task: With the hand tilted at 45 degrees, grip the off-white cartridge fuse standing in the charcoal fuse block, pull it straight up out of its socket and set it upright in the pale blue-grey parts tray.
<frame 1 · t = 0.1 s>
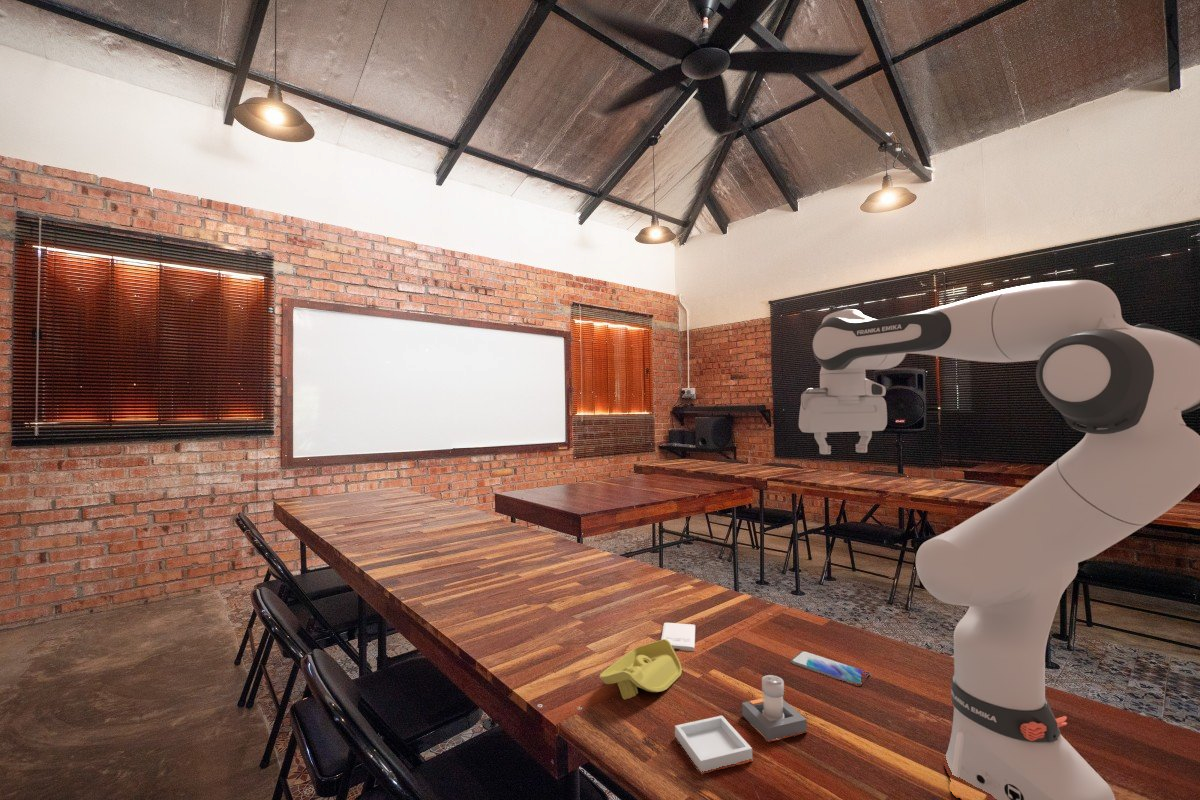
hand: (843, 453, 108), 48 cm above the table, tool pointing down, fingers open, 8 cm apart
smartphone: (829, 671, 113), on the table
fuse block: (773, 724, 93), on the table
external hard drive: (678, 640, 128), on the table
fuse: (773, 702, 93), in the fuse block
parts tray: (712, 749, 87), on the table
plastic component: (638, 684, 108), on the table
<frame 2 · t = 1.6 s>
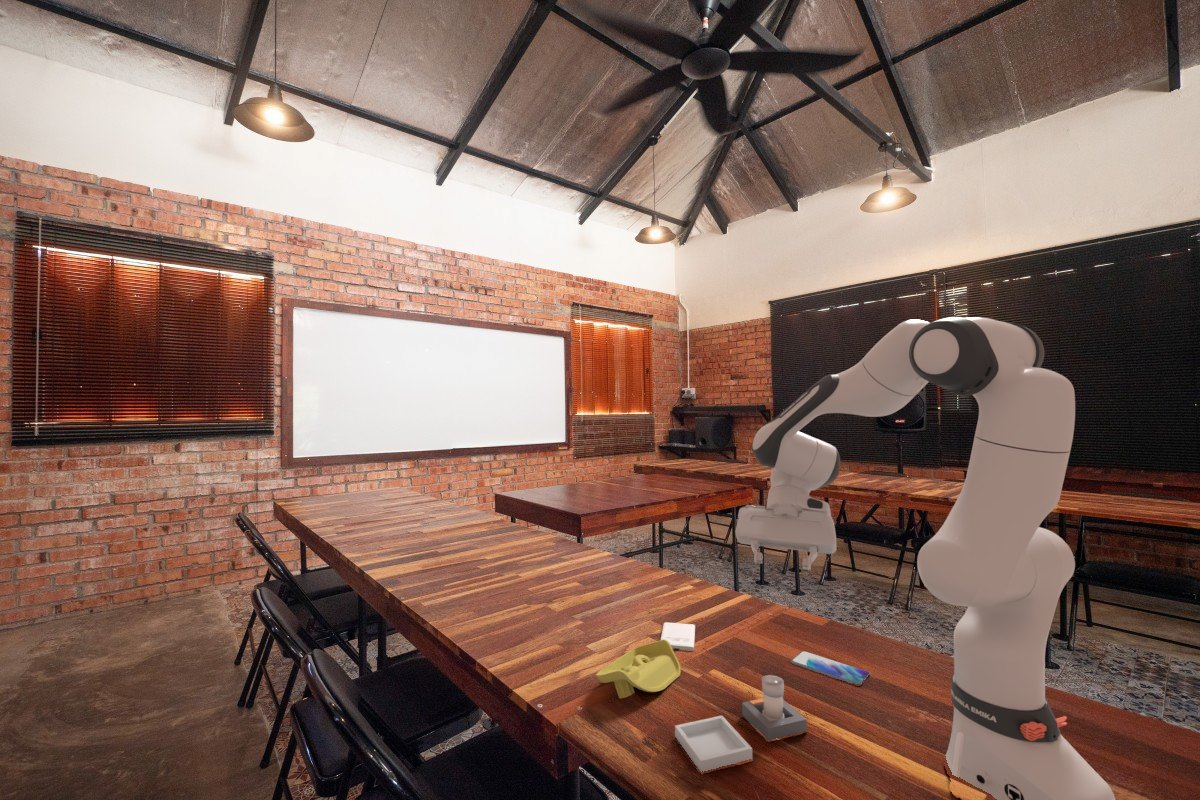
hand: (781, 565, 105), 26 cm above the table, tool tilted 45°, fingers open, 8 cm apart
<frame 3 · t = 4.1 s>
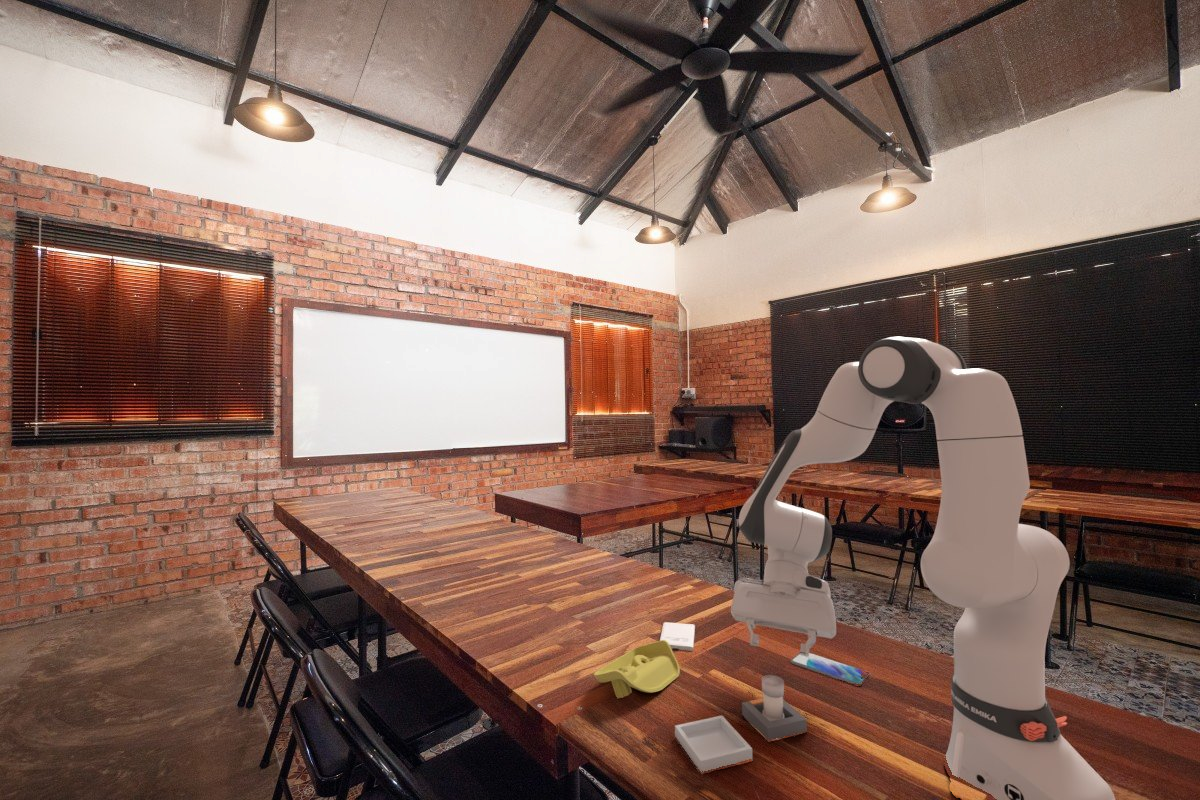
hand: (778, 649, 100), 10 cm above the table, tool tilted 45°, fingers open, 8 cm apart
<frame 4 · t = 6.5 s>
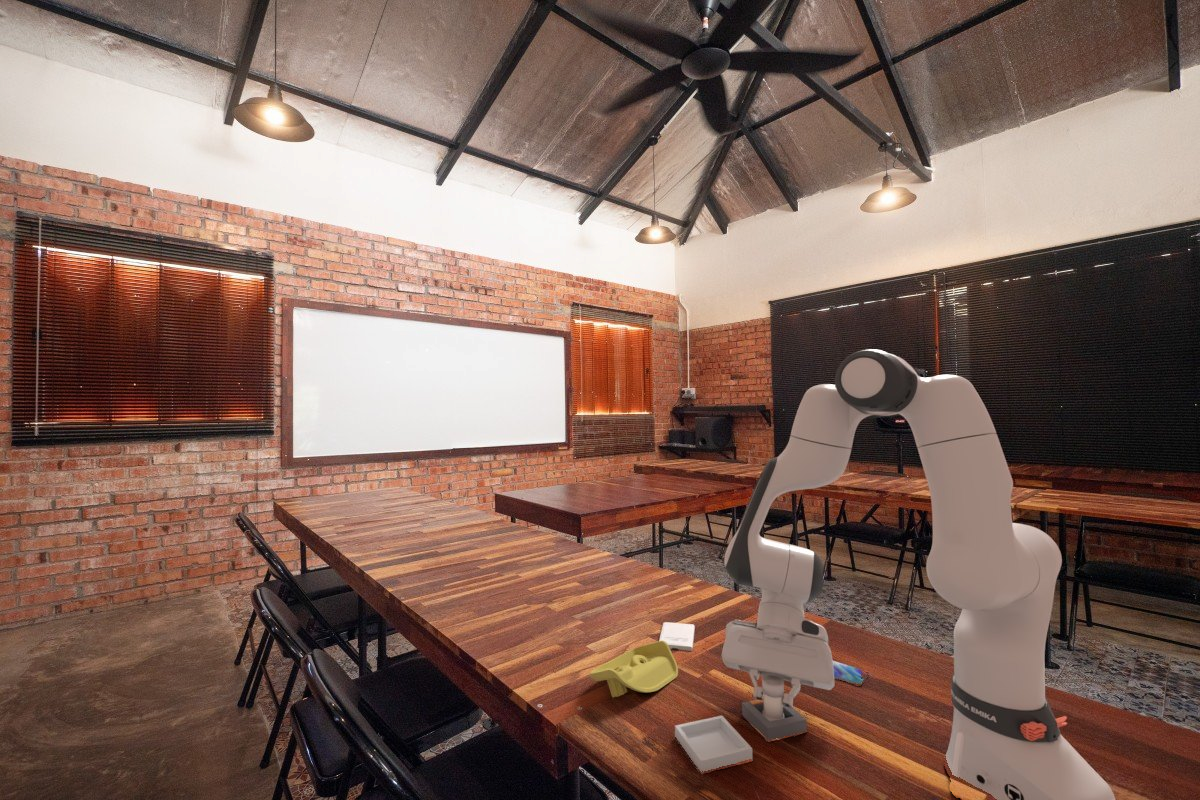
hand: (772, 702, 93), 4 cm above the table, tool tilted 45°, fingers closed on fuse, 4 cm apart
fuse: (773, 702, 93), in the fuse block, touching gripper
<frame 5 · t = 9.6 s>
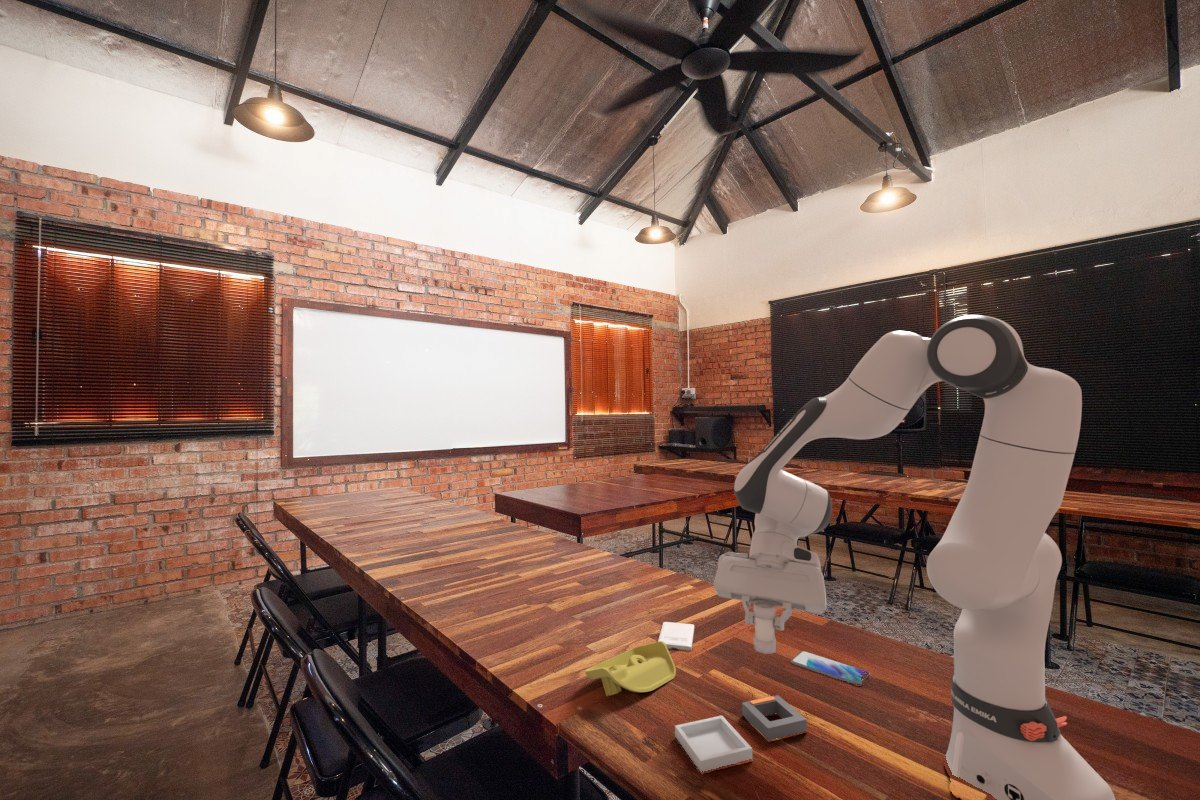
hand: (763, 625, 92), 18 cm above the table, tool tilted 45°, fingers closed on fuse, 4 cm apart
fuse: (764, 626, 93), point 18 cm above the table, touching gripper
when the fingers open (6 cm above the table, at t = 12.9 s): fuse drops 1 cm, resting on parts tray.
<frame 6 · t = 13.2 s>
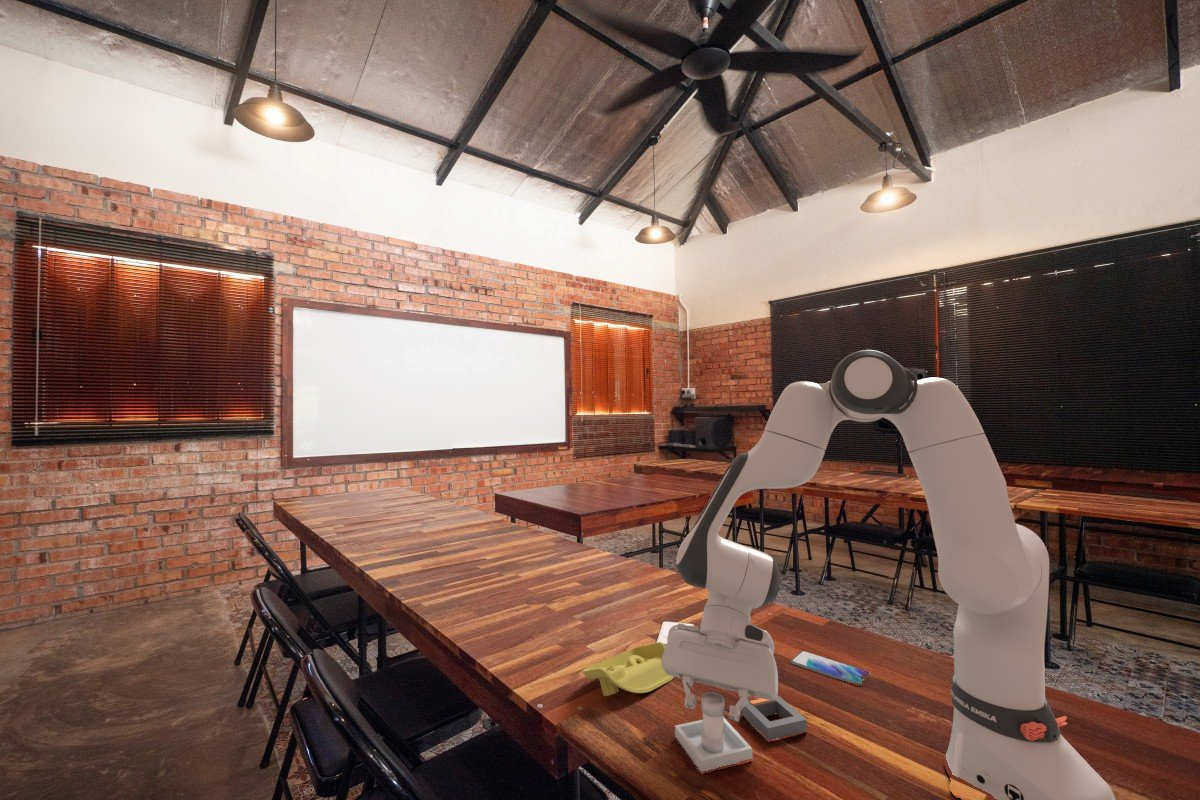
hand: (710, 713, 86), 6 cm above the table, tool tilted 45°, fingers open, 6 cm apart
fuse: (712, 722, 87), in the parts tray, point 5 cm above the table
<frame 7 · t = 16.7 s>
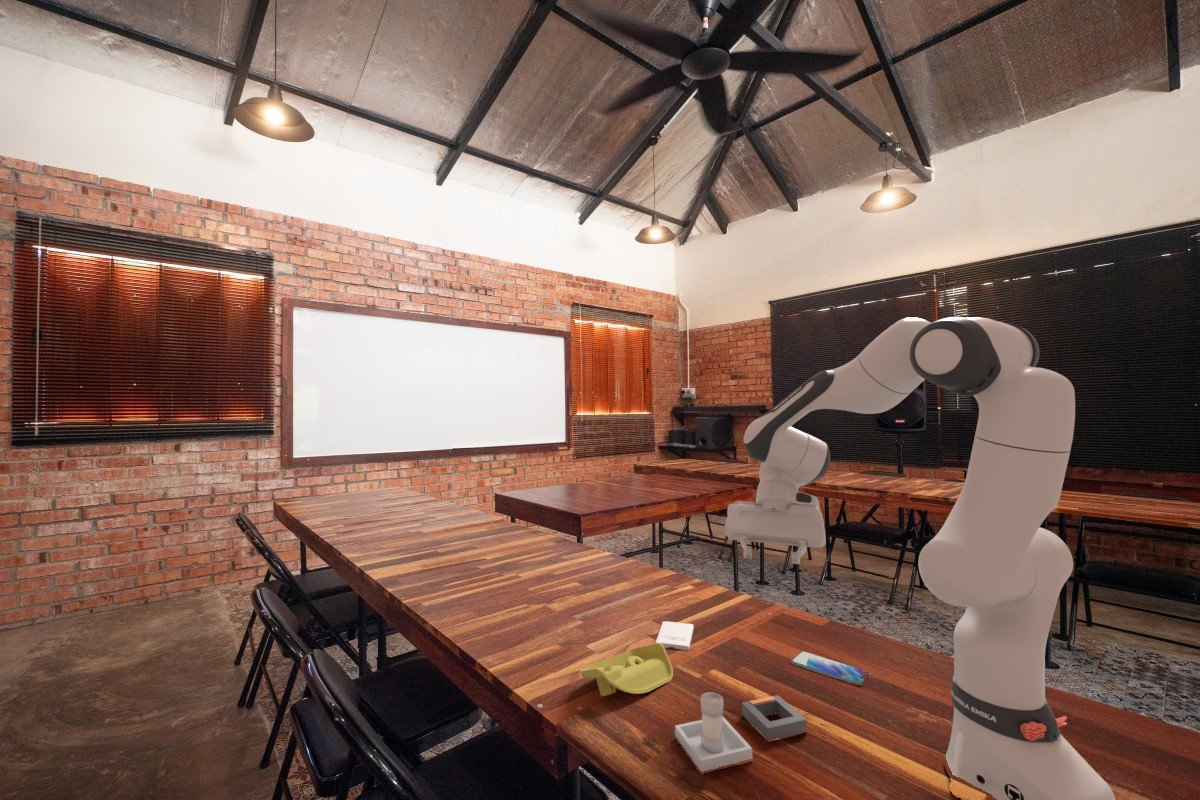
hand: (770, 559, 104), 27 cm above the table, tool tilted 45°, fingers open, 8 cm apart
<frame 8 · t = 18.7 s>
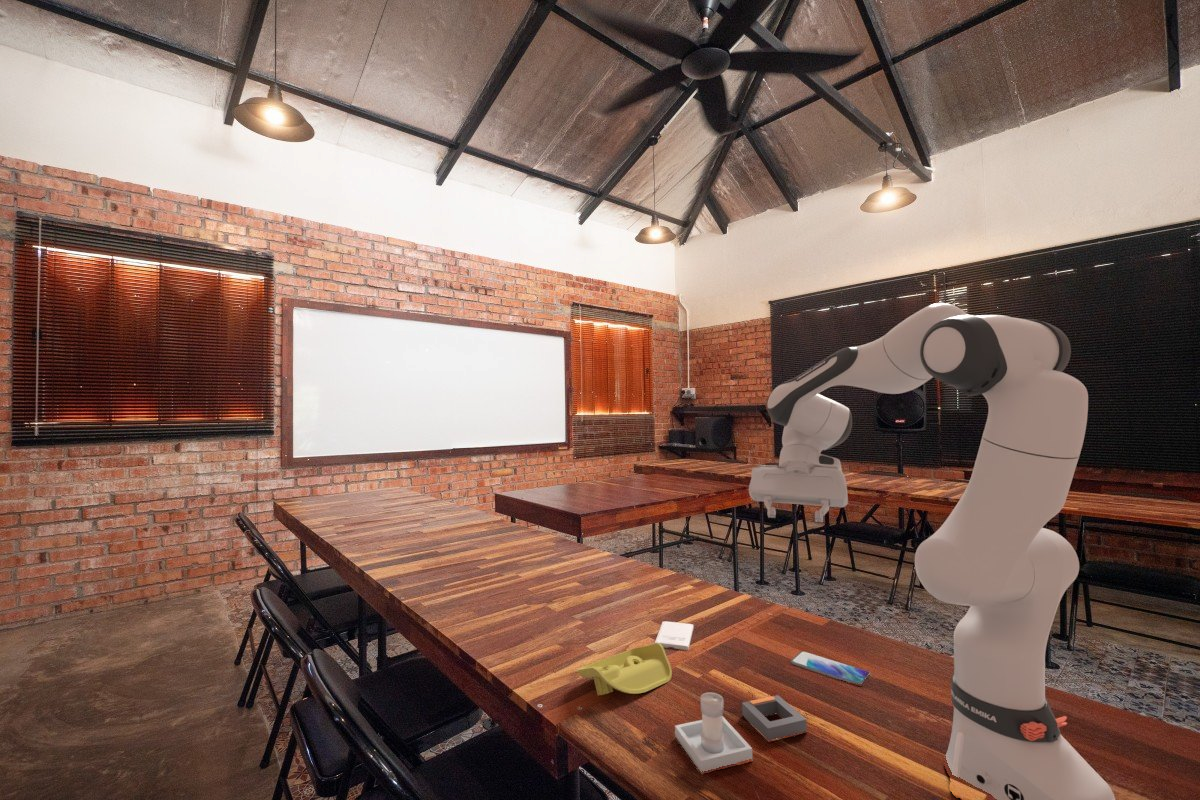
hand: (794, 518, 108), 34 cm above the table, tool tilted 45°, fingers open, 8 cm apart
at the end: fuse 0.1 cm off-centre on the parts tray, point 4.6 cm above the parts tray's base; fuse tilted 0°; the gripper is holding nothing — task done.
